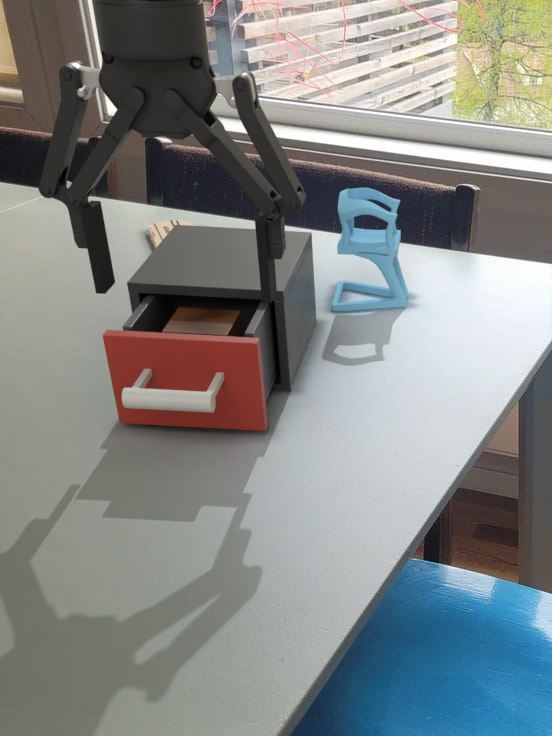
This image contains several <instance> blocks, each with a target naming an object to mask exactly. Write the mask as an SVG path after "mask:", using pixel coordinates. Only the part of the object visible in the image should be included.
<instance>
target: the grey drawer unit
mask: <svg viewBox="0 0 552 736" xmlns="http://www.w3.org/2000/svg"><path fill="white" fill-rule="evenodd" d="M285 239H286V240H285V241H286V250H285V253H284V255H283V257H282V259H275V272H276V285H277V293H276V295H275V297H274V299H273V300H275V301H274V305H275V317H276V329H277V342H278V354H279V366H280V369H279V372H278V374H277V377H276V379H275V381H274V384H273V386H272V389H271V391H276V392H292V390H293V387H294V384H295V381H296V379H297V377H298V374H299V371H300V369H301V366H302V364H303V360H304V358H305V356H306V353H307V350H308V349H309V345H310V343H311V340H312V338H313V335H314V332H315V329H316V327H317V305H316V289H315V288H316V287H315V270H314V268H315V267H314V251H313V233H312V231H294V230H285ZM126 285H127V292H128V296H129V302H130V308H131V315H132V314H133V312H134V311H135V310H136V308H137V307H138V306H139V305H140V303H141V302H142V301H143V299H144V298H145V297H146V295H147V294H166V295H185V296H203V297H221V298H239V299H257V300H262V296H261V285H260V273H259V262H258V251H257V240H256V229H255V228H240V227H223V226H222V227H221V226H208V225H207V226H206V225H195V226H189V225H175V226H174V227H173V228H172V230H171V231H170V232H169V233H168V234H167V236H166V237H165V238H164V239H163V240H162V242H161V243H160V244H159V245H158V246H157V248H156V249H155V248H154V250H153V251H152V252H151V253H150V255H148V257H147V258H146V259H145V261H144V262H142V264H140V267H139V268H138V269H137V270H136V271H135V272H134V273H133V275H132V276H131V277H130V278H129V280H128V281H127V282H126Z"/></svg>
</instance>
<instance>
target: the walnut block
mask: <svg viewBox="0 0 552 736" xmlns="http://www.w3.org/2000/svg"><path fill="white" fill-rule="evenodd" d="M162 333H177V334H195V335H214V336H232V337H243V328H242V318H241V311H239V310H220V309H202V308H184V307H178V309H177V310H176V312H175V313H174V315H173V316H172V317H171V319H170V320H169V322H168V323H167V325H166V326H165V328H164V329H163V331H162Z"/></svg>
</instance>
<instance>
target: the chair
mask: <svg viewBox="0 0 552 736" xmlns="http://www.w3.org/2000/svg"><path fill="white" fill-rule="evenodd" d="M371 200H373V201H377V202H379V203H381V204H384V205H385V206H387V207H388V208H390V211H388V210H387V209H385V208H383V207H381V206H380V205H378V204H376V203H374V202H373V201H371ZM400 203H401V199H397V198H393V197H391V196H388V195H387V194H384V193H383V192H381V191H378V190H376V189H373V188H371V187H355V188H354V187H353V188H346V189H342V190H341V191H340V192H339V194H338V202H337V213H338V217H339V221H340V226H341V229H342V230H341V234H340V237H339V240H338V242H337V244H336V247H337V252H336V253H337V255H350V256H351V255H354V256H356V257H359V258H363V259H365V260H368V261H370V262H372V263H373V264H374V265H375V266H376V267H377V268H378V269H379V271H380V273H381V274H382V277H383V278H384V280H385V282H386V284H387V286H388V287H386V286H385V287H384V286H379V285H375V284H369V283H361V282H355V281H349V280H339V281H338V282H337V284H336V287H335V291H334V294H333V298H332V302H331V310H332V311H333V312H348V311H349V312H350V311H361V310H362V311H363V310H373V309H375V310H376V309H387V308H406V307H408V301H407V299H409V291H408V288H407V285H406V280H405V278H404V275H403V272H402V268H401V264H400V262H399V261H400V260H399V257H398V255H399V248H400V243H401V239H402V238H401V237H402V235H401V234H402V232H401V231H402V230H401V229H397V225H396V220H397V217H398V215H399V214H398V213H397V212H398V208H399V205H400ZM365 215H367V216H372V217H375V218H378V219H380V220H383V221H384V222H386V223H387V226H386V228H385V229H369V228H358V227H355V218H356V217H360V216H365ZM344 290H352V291H356V292H362V293H367V294H372V295H377V296H382V297H386V298H375V299H366V300H356V301H355V300H353V301H345V302H343V301H342V302H340V301H341V299H342V294H343V292H344Z"/></svg>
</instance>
